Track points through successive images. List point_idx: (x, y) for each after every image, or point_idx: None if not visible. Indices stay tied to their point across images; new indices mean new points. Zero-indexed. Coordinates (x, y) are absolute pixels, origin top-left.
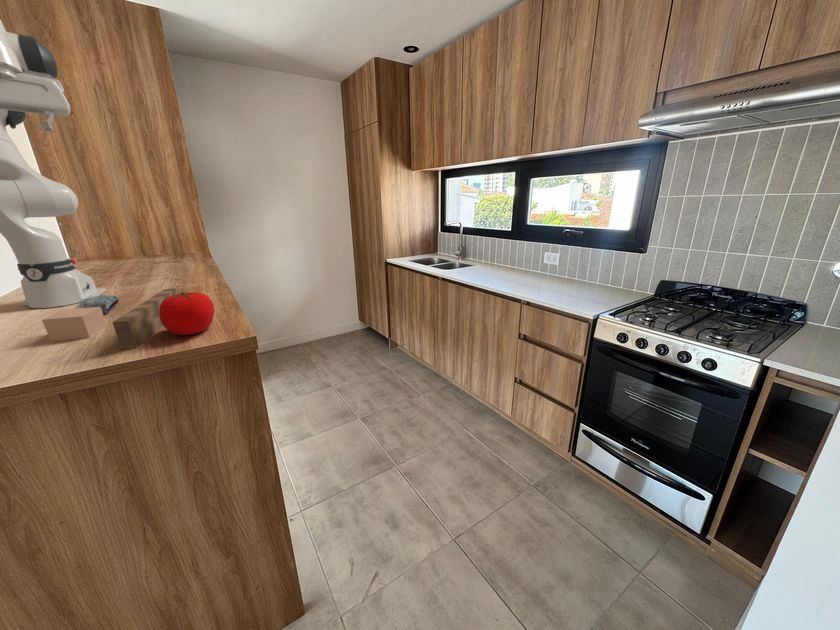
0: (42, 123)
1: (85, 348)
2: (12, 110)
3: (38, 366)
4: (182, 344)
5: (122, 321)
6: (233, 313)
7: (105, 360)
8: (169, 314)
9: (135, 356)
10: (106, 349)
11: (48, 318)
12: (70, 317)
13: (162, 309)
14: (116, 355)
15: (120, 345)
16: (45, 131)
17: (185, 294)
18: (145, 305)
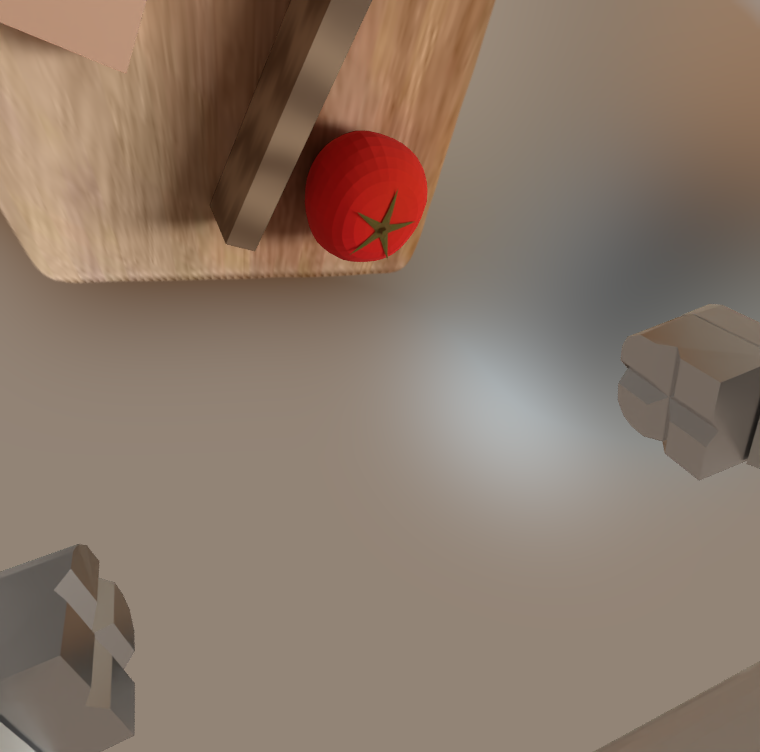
0: (683, 455)
1: (129, 145)
2: (645, 727)
3: (58, 209)
4: (312, 242)
5: (244, 248)
6: (459, 88)
7: (186, 248)
8: (329, 252)
9: (235, 257)
10: (178, 184)
11: (14, 18)
12: (90, 58)
13: (325, 238)
14: (203, 233)
15: (212, 210)
16: (625, 355)
17: (386, 235)
18: (296, 130)
